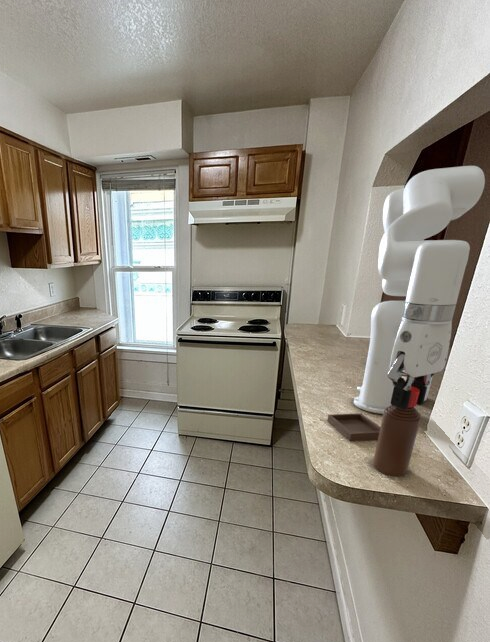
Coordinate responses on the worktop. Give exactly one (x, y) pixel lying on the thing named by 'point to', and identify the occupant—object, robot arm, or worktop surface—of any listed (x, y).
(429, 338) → the robot arm
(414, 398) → the cap
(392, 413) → the sauce bottle
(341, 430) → the tray
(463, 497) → the worktop surface
